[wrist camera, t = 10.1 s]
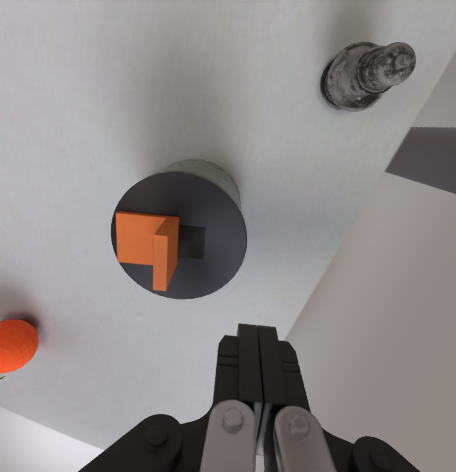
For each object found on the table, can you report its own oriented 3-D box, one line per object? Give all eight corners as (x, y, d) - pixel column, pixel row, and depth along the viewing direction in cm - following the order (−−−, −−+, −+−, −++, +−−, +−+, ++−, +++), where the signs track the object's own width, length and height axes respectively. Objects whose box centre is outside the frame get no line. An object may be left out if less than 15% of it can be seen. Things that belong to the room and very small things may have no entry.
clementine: (50, 356, 45) (18, 396, 39) (4, 349, 45) (-36, 388, 38) (48, 313, 42) (13, 348, 36) (-1, 305, 42) (-45, 339, 35)
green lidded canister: (248, 162, 34) (255, 180, 23) (237, 252, 38) (238, 305, 27) (149, 151, 34) (107, 164, 23) (148, 243, 38) (113, 293, 27)
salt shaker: (338, 39, 30) (401, -13, 19) (385, 68, 31) (473, 36, 19) (306, 96, 32) (347, 81, 20) (352, 122, 32) (415, 121, 21)
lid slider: (179, 216, 24) (167, 235, 20) (177, 264, 26) (166, 291, 22) (118, 210, 24) (94, 228, 20) (119, 259, 26) (97, 284, 21)
